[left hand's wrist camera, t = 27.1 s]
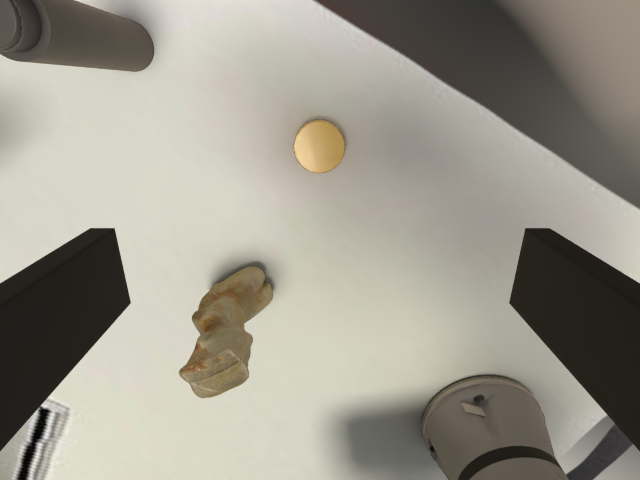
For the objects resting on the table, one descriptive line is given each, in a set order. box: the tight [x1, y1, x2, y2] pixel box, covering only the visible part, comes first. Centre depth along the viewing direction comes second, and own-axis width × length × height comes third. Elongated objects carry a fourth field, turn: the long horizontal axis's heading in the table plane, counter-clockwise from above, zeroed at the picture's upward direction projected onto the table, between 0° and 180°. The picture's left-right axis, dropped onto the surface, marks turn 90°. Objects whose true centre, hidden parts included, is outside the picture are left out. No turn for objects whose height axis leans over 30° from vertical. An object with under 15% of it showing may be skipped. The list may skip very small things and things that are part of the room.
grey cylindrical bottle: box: [0, 0, 154, 71], centre depth 26 cm, size 4×4×16 cm
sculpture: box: [179, 266, 273, 398], centre depth 36 cm, size 6×7×15 cm
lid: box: [294, 119, 345, 173], centre depth 36 cm, size 5×5×2 cm
